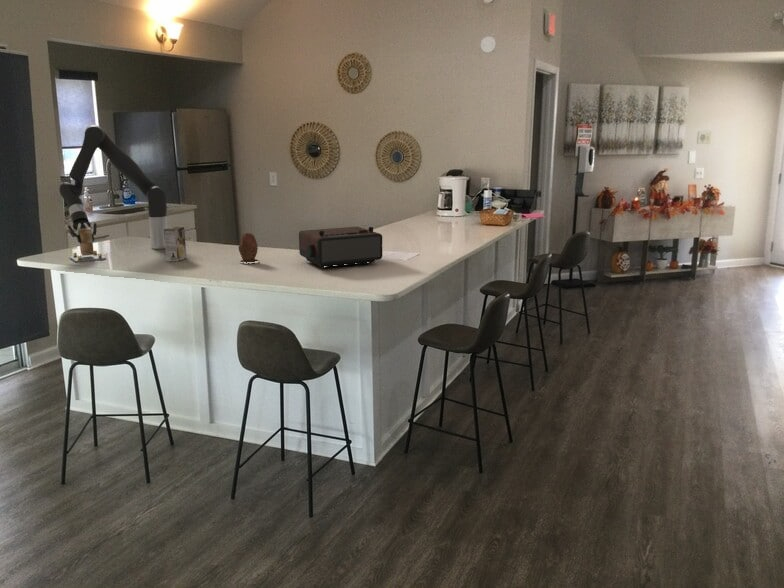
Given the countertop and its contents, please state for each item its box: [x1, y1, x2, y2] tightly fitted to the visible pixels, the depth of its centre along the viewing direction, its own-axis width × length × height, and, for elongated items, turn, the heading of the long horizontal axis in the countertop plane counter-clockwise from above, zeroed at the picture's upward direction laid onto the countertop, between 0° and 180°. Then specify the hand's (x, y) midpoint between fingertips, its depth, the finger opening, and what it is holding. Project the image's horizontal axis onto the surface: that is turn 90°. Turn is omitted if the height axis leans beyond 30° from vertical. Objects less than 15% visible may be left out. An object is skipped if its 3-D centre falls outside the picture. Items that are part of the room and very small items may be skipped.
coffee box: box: [164, 226, 187, 262], centre depth 337 cm, size 9×6×16 cm
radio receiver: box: [298, 226, 383, 268], centre depth 328 cm, size 35×27×18 cm
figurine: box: [238, 232, 259, 263], centre depth 331 cm, size 9×10×15 cm
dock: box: [69, 250, 107, 264], centre depth 341 cm, size 14×14×3 cm
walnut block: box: [78, 227, 95, 256], centre depth 339 cm, size 5×5×13 cm
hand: (86, 241), depth 338 cm, fingers closed on walnut block, 5 cm apart
